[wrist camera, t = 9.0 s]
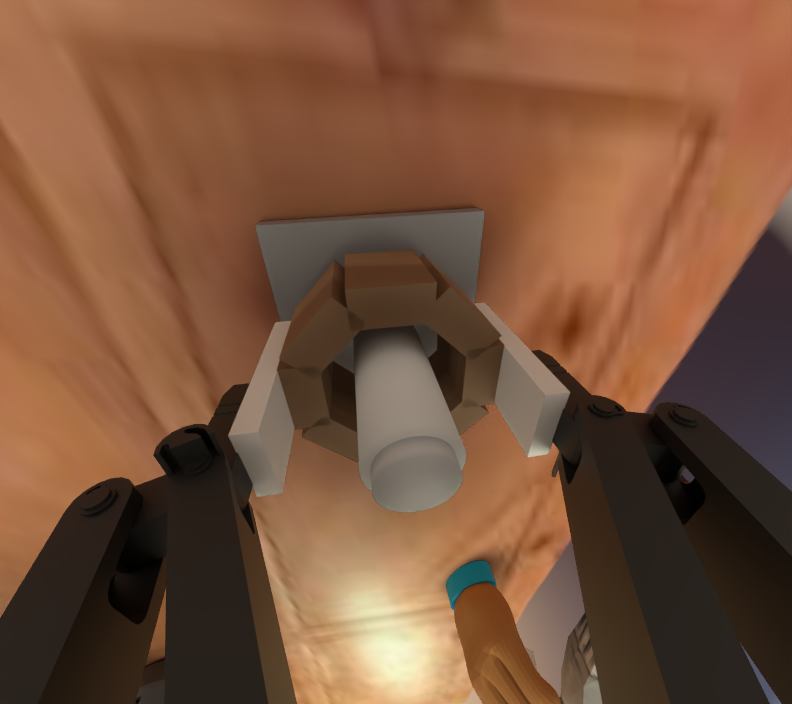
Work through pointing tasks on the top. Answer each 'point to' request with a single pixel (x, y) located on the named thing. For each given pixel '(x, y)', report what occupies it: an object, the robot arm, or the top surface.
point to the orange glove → (493, 641)
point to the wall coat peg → (387, 344)
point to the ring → (372, 309)
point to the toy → (578, 668)
